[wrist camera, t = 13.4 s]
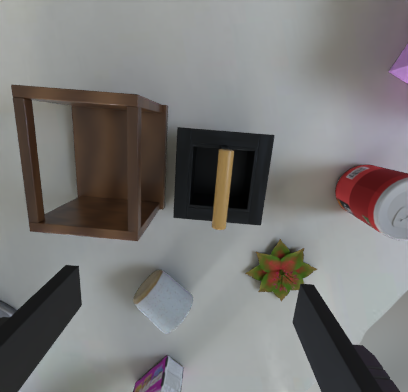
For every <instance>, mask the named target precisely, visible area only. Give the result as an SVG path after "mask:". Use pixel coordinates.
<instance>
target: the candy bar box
mask: <svg viewBox="0 0 408 392" xmlns="http://www.w3.org/2000/svg"><path fill="white" fill-rule="evenodd" d="M183 369H184V367H183V366H182V365H181V364H179V363H178V362H176V361H175V360H173V359H172V358H171V357H169V356H168V355H167V356H166V357H165V358H163V359H162V360H161V361H160V362H159V363H158V364H157V365H156V366H154V367H153V368H152V369H151V370H150V371H149V372H148V373H146V374H145V375H144V376H143V377H142V378H141V379H139V380H138V381H137V382H136V383H135V387H134V390H133V392H181V387H182V378H183Z"/></svg>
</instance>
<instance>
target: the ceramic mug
mask: <svg viewBox="0 0 408 392" xmlns="http://www.w3.org/2000/svg"><path fill="white" fill-rule="evenodd" d="M133 301H134V304H135V305H136V307H137V308H138V309H139V310H140V311H141V312H142V313H143V314H144V315H145V316H147V317H148V318H149V319H150V320H151V321H152V322H153V323H154V324H155V325H156V326H157V327H158V328H159V329H160V330H161V331H162V332H163V333H165V334H166V333H170V332H172V331H173V330H175V329H176V328H177V327H178V326H179V325H180V324H181V323H182V322H183V320H184V319H185V318H186V316H187V314H188V313H189V311H190V309H191V306H192V303H193V296H192V294H191V293H189V292H188V291H187V290H186V289H185V288H183V287H182V286H181V285H180V284H179V283H178V282H176V281H175V280H174V279H173V278H172V277H171V276H170V275H168V274H167V273H166V272H164V271H162V270H157V271H155V272H154V273H152V274H151V275H150V276H149V277H148V278H147V279H146V280H145V281H144V282H143V284H142V285H141V286H140V287H139V289H138V290H137V292H136V293H135V296H134V299H133Z"/></svg>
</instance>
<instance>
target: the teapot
mask: <svg viewBox="0 0 408 392" xmlns="http://www.w3.org/2000/svg"><path fill="white" fill-rule="evenodd" d="M389 72H390V73H391V74H393V75H394V76H396V77H397V78H399V79H401V80H402V81H404V82H405V83H407V84H408V44H407V45H406V47H405V48H404V50H403V51H402V53H401V54H400V56H399V57H398V59H397V60H396V62H395V63H394V64H393V66H392V67H391V69H390V70H389Z"/></svg>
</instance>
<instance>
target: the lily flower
mask: <svg viewBox="0 0 408 392" xmlns="http://www.w3.org/2000/svg"><path fill="white" fill-rule="evenodd" d="M303 251H304V248H303V249H301V250H299V251H296V252H294V253H290V251H289V249H288V248H287V246H286V245H285V244H284V243H282V241H281V239H280V240H279V242H278V243H277V246H275V247H274V249H273V251H272V252H271V255H268V254H263V253H258V252H256V253H257V256H258V259H259V260H258V261H259V264H260V265H258V266H256V267H255V268H253V269H251V270H250V271H249V272H247V273H245V274H248V275H249V276H252V278H254V279H256V280H259V281H261V284H260V290H259V291H258V292H265V291H266V292H272V291H273V292H274V294H275V295H276V296H277V297H278V298H280V300H281V301H282V299H284V298H285V296H287V295H288V293H289V292H290V290H299V288H300V284H304V282H303V279H302V278H305V277H307V276H309V275H310V274H311V273H313V271H315V270H317V269H316V268H314V267H311V266H310V265H309V264H306V263H304V262H303V259H304V254H303Z"/></svg>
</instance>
